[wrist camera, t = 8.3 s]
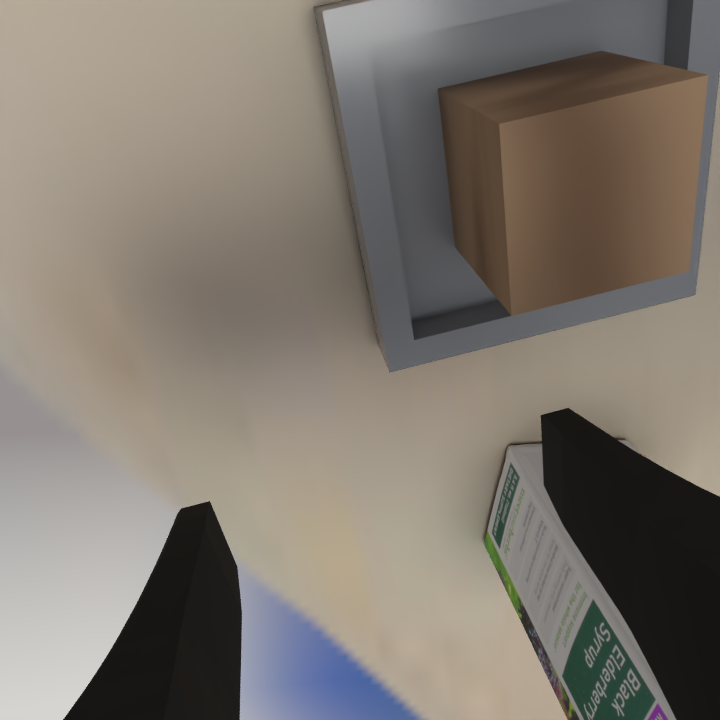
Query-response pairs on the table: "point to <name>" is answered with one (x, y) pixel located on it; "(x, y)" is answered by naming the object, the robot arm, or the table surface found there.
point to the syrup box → (566, 603)
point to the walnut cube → (574, 176)
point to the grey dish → (427, 155)
